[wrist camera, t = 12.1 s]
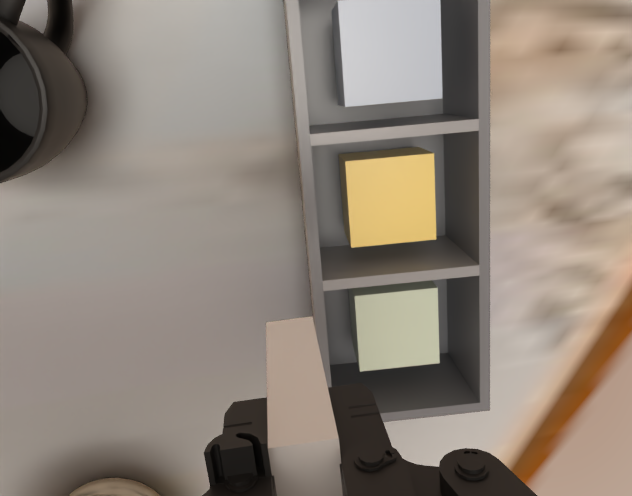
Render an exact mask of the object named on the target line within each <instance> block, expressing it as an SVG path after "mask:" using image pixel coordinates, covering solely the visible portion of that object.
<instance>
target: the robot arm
mask: <svg viewBox="0 0 632 496" xmlns="http://www.w3.org/2000/svg"><path fill="white" fill-rule="evenodd" d="M266 356H267V398H260V399H252V400H245V401H238V402H233V404H232V405H231V406H230V408H229V409H228V410H227V412H226V413H225V417H224V428H223V434H222V435H220V436H218V437H216V438H214V439H213V440H212V441H211V442H210V443H209V444H208V445H207V447H206V449H205V451H204V455H205V461H206V466H207V472H208V477H209V482H210V489H209V490H208V491H207V492H206V493H205V494H204V495H202V496H537V495H536V494H535V493H534V492H533V491H532V490H531V489H530V488H528V487H527V486H526V485H525V484H524V483H523V482H522V481H521V480H520V479H519V478H518V477H517V476H516V475H515V474H514V473H513V472H511V471H510V470H509V469H508V468H507V467H506V466H505V465H504V464H503V463H502V462H501V461H500V460H499V459H497V458H496V457H494V456H493V455H491V454H490V453H488V452H484V451H481V450H478V449H467V448H465V449H459V450H454V451H452V452H450V453H448V454H446V455H445V456H444V457H443V458H442V460H441V461H440V466H439V467H434V466H423V465H417V464H414V463H411V462H408V461H406V460H404V459H402V457H401V455H400V454H399V453H398V451H397V450H396V449H394V448H393V447H392V446H391V443H390V440H389V437H388V434H387V432H386V429H385V426H384V423H383V421H382V418H381V415H380V413H379V409H378V407H377V405H376V401H375V398H374V396H373V393H372V391H371V390H369V389H368V388H367V387H366V386H364V385H363V384H362V383H357V384H350V385H343V386H336V387H329V388H328V386H327V382H326V377H325V373H324V368H323V363H322V359H321V354H320V350H319V345H318V340H317V336H316V331H315V327H314V322H313V317H312V316H310V317H302V318H295V319H287V320H280V321H272V322H266Z"/></svg>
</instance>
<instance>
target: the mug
mask: <svg viewBox="0 0 632 496" xmlns="http://www.w3.org/2000/svg"><path fill="white" fill-rule="evenodd" d="M25 1H26V0H0V183H2V182H5V181H8V180H11V179H14V178H17V177H20V176H23V175H25V174H27V173H30V172H32V171H34V170H36V169H38V168H40V167H42V166H43V165H45V164H46V163H48V162H49V161H51V160H52V159H53V158H54V157H55V156H57V155H58V154H59V153H60V152H61V151H62V150H63V149H64V148H66V146H67V145H68V144H69V142H70V141H71V139H72V138H73V137H74V135H75V134H76V133H77V131H78V129H79V126H80V124H81V122H82V121H83V118H84V116H85V113H86V108H87V91H86V88H85V84H84V81H83V79H82V77H81V76H80V74H79V72H78V70H77V69H76V68H75V67H74V65H73V64H72V63H71V61H70V60H69V59H68V58H67V57H66V53H67V51H68V49H69V47H70V44H71V41H72V36H73V8H72V0H47V2H48V20H47V25H46V29H45V32H44V34H41V33H40V32H39V31H37V30H36V29H35V28H33V27H31V26H29V25H27V24H25V23H23V22H21V21H19V18H20V15H21V12H22V9H23V6H24V4H25Z"/></svg>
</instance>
